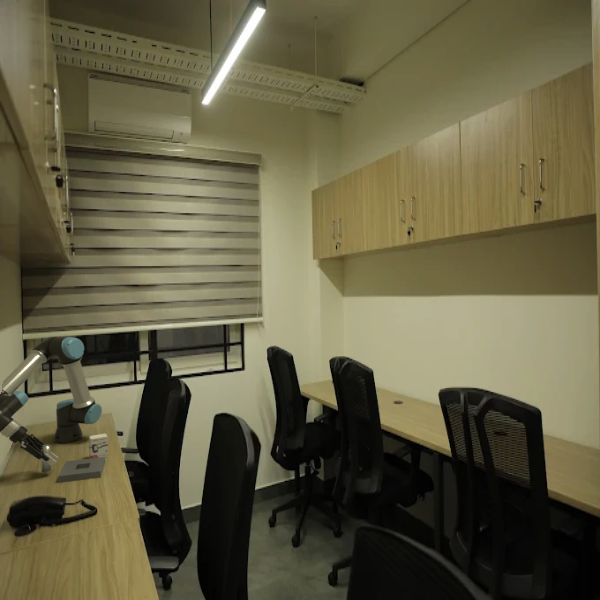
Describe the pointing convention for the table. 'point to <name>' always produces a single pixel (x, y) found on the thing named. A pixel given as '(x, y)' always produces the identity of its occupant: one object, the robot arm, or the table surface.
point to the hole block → (82, 469)
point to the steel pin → (45, 465)
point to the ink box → (98, 446)
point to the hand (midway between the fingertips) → (55, 461)
